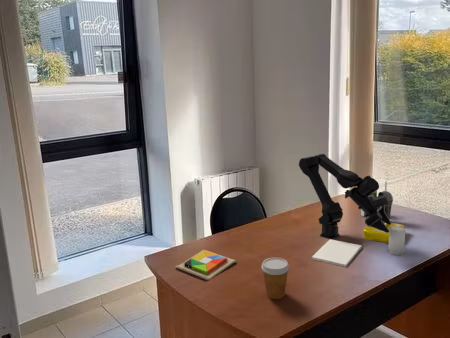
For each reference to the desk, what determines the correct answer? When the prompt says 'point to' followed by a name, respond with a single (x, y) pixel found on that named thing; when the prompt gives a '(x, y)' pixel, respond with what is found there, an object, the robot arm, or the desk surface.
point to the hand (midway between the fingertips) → (389, 227)
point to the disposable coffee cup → (275, 277)
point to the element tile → (379, 233)
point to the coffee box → (373, 197)
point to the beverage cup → (388, 206)
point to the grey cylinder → (396, 240)
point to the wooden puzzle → (206, 264)
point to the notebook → (337, 252)
